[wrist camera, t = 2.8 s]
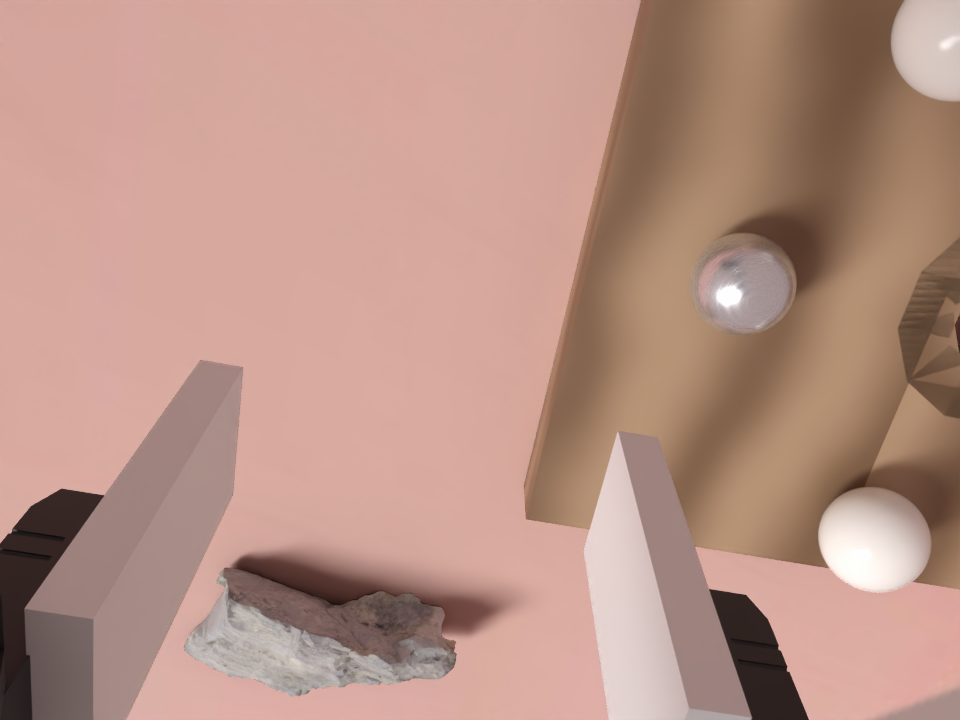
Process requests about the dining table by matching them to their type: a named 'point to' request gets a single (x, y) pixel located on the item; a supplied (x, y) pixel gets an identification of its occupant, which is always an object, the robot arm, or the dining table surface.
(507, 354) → the dining table surface
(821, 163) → the board
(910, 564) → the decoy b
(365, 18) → the dining table surface
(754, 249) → the steel ball
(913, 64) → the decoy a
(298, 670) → the stone
